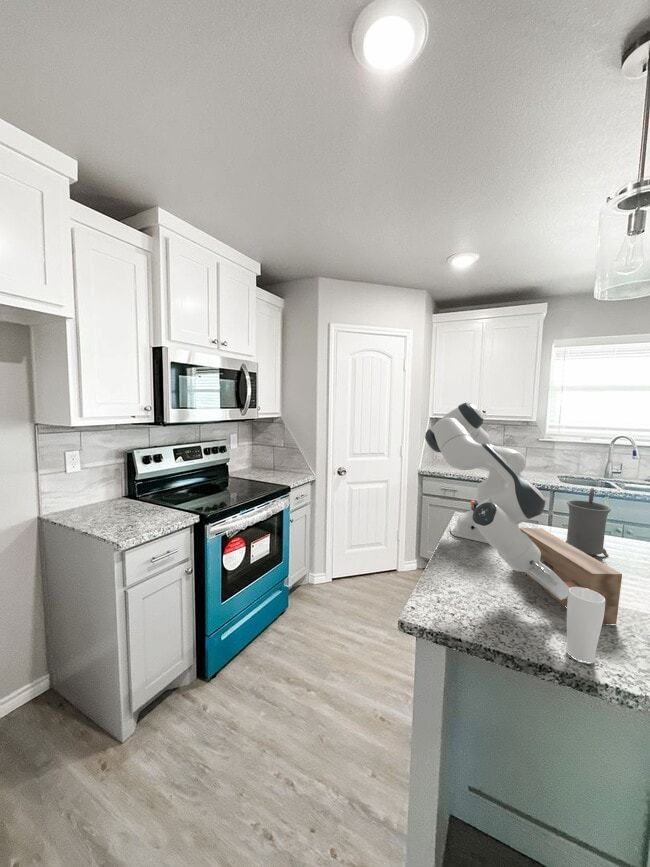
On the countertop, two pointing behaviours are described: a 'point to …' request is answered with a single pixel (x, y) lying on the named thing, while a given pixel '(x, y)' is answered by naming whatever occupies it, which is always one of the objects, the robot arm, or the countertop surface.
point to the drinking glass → (584, 622)
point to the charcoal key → (547, 565)
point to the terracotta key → (571, 585)
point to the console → (578, 570)
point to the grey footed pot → (587, 525)
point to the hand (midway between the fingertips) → (553, 589)
